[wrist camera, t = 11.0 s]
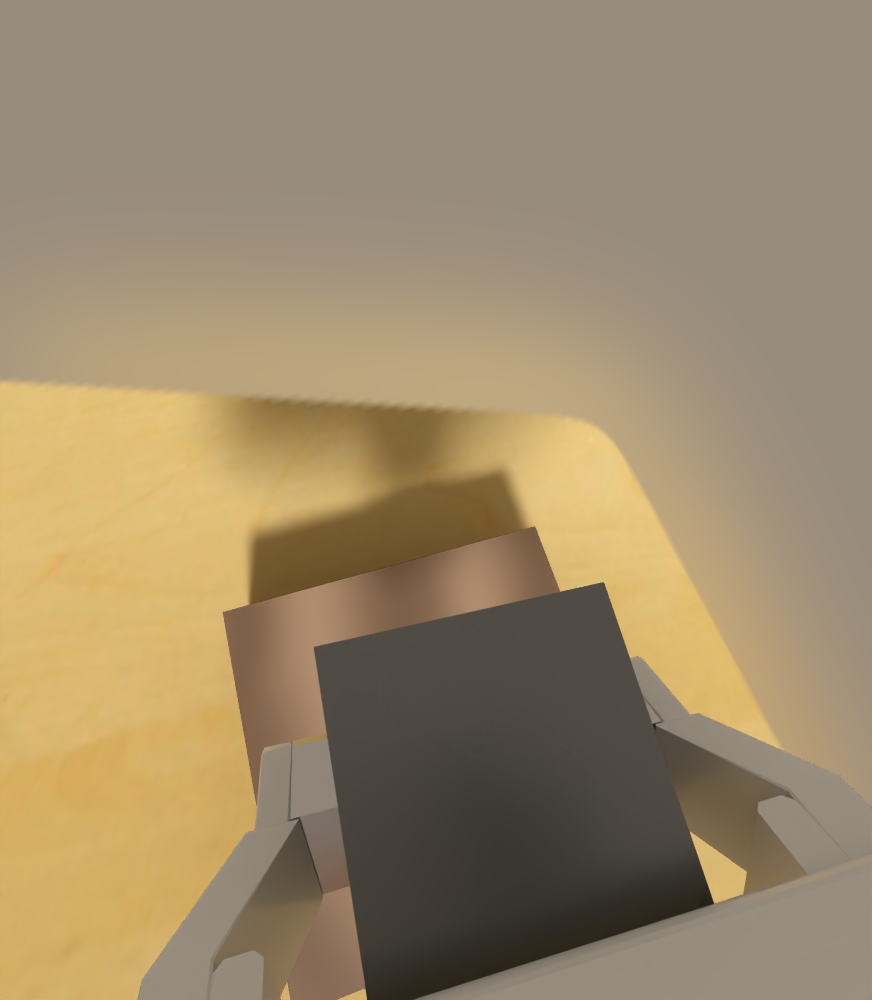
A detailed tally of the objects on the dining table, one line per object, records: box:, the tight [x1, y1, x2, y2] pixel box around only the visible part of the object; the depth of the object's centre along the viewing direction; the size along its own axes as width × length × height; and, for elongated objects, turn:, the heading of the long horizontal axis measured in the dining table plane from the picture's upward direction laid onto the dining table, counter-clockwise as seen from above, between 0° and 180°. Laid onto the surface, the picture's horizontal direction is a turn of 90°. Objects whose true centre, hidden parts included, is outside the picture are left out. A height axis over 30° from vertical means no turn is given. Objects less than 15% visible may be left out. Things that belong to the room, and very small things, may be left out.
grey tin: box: [314, 582, 714, 1000], centre depth 11 cm, size 4×4×8 cm
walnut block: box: [223, 526, 560, 1000], centre depth 25 cm, size 14×14×5 cm
